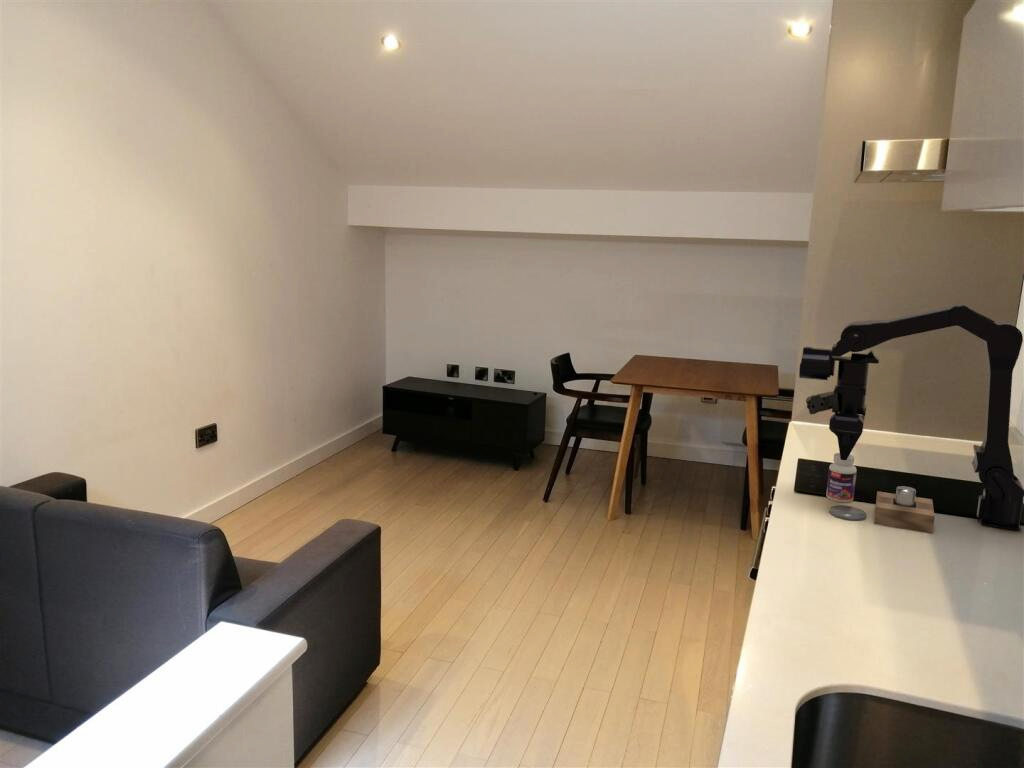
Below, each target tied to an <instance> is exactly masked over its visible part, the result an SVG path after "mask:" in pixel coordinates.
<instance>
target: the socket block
mask: <svg viewBox="0 0 1024 768" xmlns="http://www.w3.org/2000/svg"><path fill="white" fill-rule="evenodd" d="M895 498H896V493H892V492H891V493H890V492H884V491H879V490H878V491H876V498H875V499H876V501H875V507H874V510H875V511H874V523H873V524H875V525H880V526H887V527H893V528H899V529H906V530H909V531H910V530H911V531H917V532H923V533H929V534H933V530H934V521H935V511H934V503H933V502H934V501H933V499H932V498H925V497H917V496H915V503H914V508H912V507H906V506H899V505H895Z"/></svg>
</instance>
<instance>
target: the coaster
mask: <svg viewBox="0 0 1024 768" xmlns="http://www.w3.org/2000/svg"><path fill="white" fill-rule="evenodd" d="M828 513H829V514H830V515H831V516H833V517H835V518H837V519H840V520H845V521H854V522H856V521H857V522H858V521H864V520H865V519H867V512H866V511H865V510H863V509H862V508H859V507H855V506H853V505H844V504H834V505H832V506H830V507H829V508H828Z"/></svg>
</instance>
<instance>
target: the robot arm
mask: <svg viewBox="0 0 1024 768" xmlns="http://www.w3.org/2000/svg"><path fill="white" fill-rule="evenodd" d="M955 326H957V327H960V328H962V329H963V330H965V331H967V332H969V333H970V334H973V335H974V336H976V337H978V339H980V340H982V341H983V347H984V352H985V353H984V354H985V358H986V364H987V369H988V371H987V372H988V373H987V390H986V405H985V422H984V423H985V424H984V425H985V426H984V436H983V440H982V443H981V445H977V444H973V446H972V447H973V448H972V449H973V455H974V456H973V460H972V462H971V465H972V468H973V472H974V473H977V476H978V479H979V480H980V482H981V483H982V484H983V485H984V486H985V487H987V488H983V492H982V495H979V496H978V503H977V504H978V505H977V510H976V517H977V519H979V521H980V524H981V525H982V526H985V527H986V526H988V527H992V528H993V527H994V528H1000V529H1005V530H1012V531H1018V532H1019V531H1021V529H1022V527H1021V525H1020V522H1021V516H1022V509H1023V502H1024V486H1023V485H1022V482H1021V481H1020V479H1019V478H1018V477H1017V476H1016V475H1015V472H1014V466H1013V465H1014V464H1013V460H1012V455H1011V450H1010V444H1009V437H1010V436H1009V434H1010V417H1011V402H1012V401H1011V400H1012V385H1013V373H1014V369H1015V366H1016V364H1017V362H1018V359H1019V357H1020V354H1021V349H1022V345H1023V343H1024V339H1023V338H1024V337H1023V333H1022V331H1021V330H1020V329H1019V328H1018V327H1017V326H1015V325H1014V324H1012V323H1010V322H1008V321H1006V320H1005V321H1004V320H997V321H995V320H994V319H991V318H989V317H988V316H985V315H983V314H981V313H979V312H977V311H975V310H973V309H972V308H969V306H967V305H966V304H963V303H955V304H952V305H949V306H946V307H942V308H937V309H933V310H927V311H923V312H920V313H915V314H910V315H905V316H900V317H896V318H892V319H885V320H884V319H883V320H881V319H880V320H878V319H877V320H876V319H873V320H859V321H857V320H856V321H852V322H850V323H848V324H846V326H844V328H843V329H842V331H841V333H840V339H839V340H838V341H837V342H836V343H834V344H833V345H832V347H831V348H819V347H813V346H804V347H803V348H802V355H801V362H800V363H799V369H798V370H799V373H798V374H799V376H798V377H799V379H806V380H817V381H818V380H820V381H829V378H831V377H834V376H835V371H836V362H838V368H837V376H836V377H837V378H836V385H835V386H834V389H833V391H827V392H822V393H817V394H812V395H810V396H807V398H806V399H805V402H806V408H807V409H808V412H809V415H816V414H817V413H820V412H825V411H829V410H831V413H833V414H832V415H831V416H830V417H829V425H828V429H829V431H830V432H831V433H833V434H834V435H835V436H836V437H837V443H838V450H839V451H838V453H840V459H841V460H847V458H848V456H849V455H851V453H852V451H853V450H854V448H855V446H856V444H857V443H858V441H859V439H860V438H861V436H862V434H863V432H864V425H865V423H864V422H865V419H866V414H867V404H866V397H867V396H866V395H867V390H868V389H867V388H868V386H867V385H868V376H869V367H870V364H877V365H878V364H879V363H880V358H879V357H878V356H876V354H875V353H874V351H873V350H869V351H868V352H867V353H861V352H863V351H865V350H868V349H872V348H874V347H877V346H879V345H881V344H884V343H885V342H888V341H890V340H894V339H898V338H903V337H908V336H912V335H918V334H922V333H927V332H931V331H935V330H941V329H946V328H950V327H955ZM848 353H851V354H850V356H845V354H848Z"/></svg>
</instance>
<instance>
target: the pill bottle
mask: <svg viewBox="0 0 1024 768" xmlns="http://www.w3.org/2000/svg"><path fill="white" fill-rule="evenodd" d="M854 464H855V456H854V455H852V454H850V455H849V456H848V458H847V460H841V459H840V452H836V453H834V454H833V462H832V463H831V464H830V465H829V466H828V467H829V468H828V476H827V485H826V498H828V500H829V501H833V502H837V503H852V502H853V500H854V497H855V490H856V489H855V487H856V481H857V472H858V471H857V468H856V466H855V465H854Z"/></svg>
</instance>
